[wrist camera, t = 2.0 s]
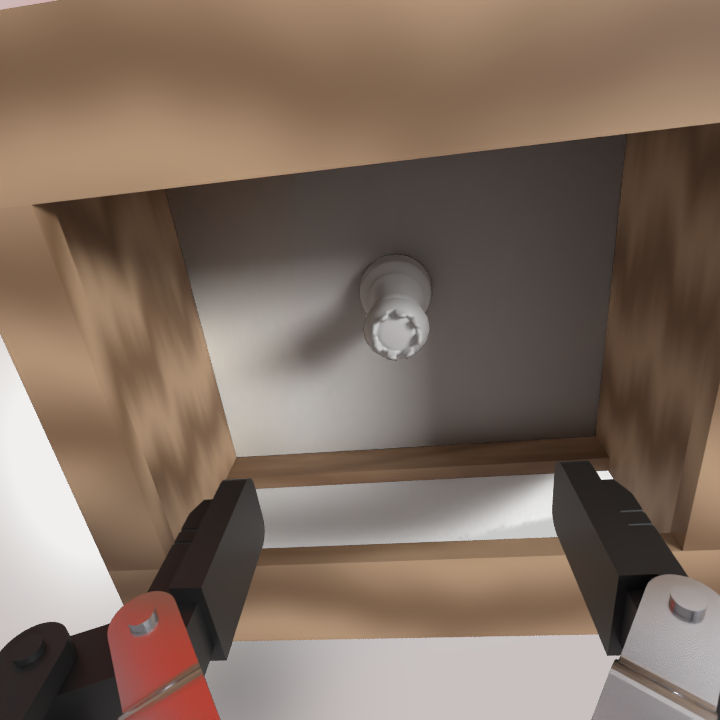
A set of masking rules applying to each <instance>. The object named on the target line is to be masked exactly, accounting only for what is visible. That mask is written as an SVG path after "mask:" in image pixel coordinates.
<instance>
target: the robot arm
mask: <svg viewBox="0 0 720 720" xmlns="http://www.w3.org/2000/svg"><path fill="white" fill-rule="evenodd" d="M552 514H553V522H554V527H555V530H556V533H557V536H558V538H559V541H560V543H561V546H562V548H563V550H564V553H565V555H566V558H567V560H568V562H569V565H570V567H571V570H572V572H573V574H574V577H575V579H576V582H577V584H578V586H579V589H580V591H581V594H582V596H583V598H584V601H585V603H586V606H587V608H588V610H589V613H590V615H591V618H592V620H593V622H594V625H595V627H596V630H597V632H598V634H599V637H600V639H601V641H602V644H603V646H604V649H605V651H606V654H607V656H608V655H609V656H610V655H621V656H620V658H619V660H617V659H616V660H615V661H614V663H613V665H612V667H611V669H610V672H609V674H608V677H607V680H606V682H605V685H604V688H603V690H602V693H601V695H600V698H599V701H598V703H597V706H596V709H595V711H594V714H593V716H592V719H591V720H720V595H718V594H717V593H716V592H715V591H714V590H712V589H711V588H710V587H708V586H706V585H705V584H703V583H701V582H699V581H697V580H695V579H692V578H689V577H688V575H687V574H686V572H685V571H684V569H683V568H682V566H681V565H680V563H679V562H678V560H677V559H676V557H675V556H674V555H673V553H672V552H671V550H670V549H669V547H668V546H667V544H666V543H665V541H664V540H663V538H662V537H661V535H660V534H659V532H658V531H657V529H656V528H655V526H652V522H651V521H650V519H649V518H648V516H647V515H646V513H645V512H643V509H642V507H641V506H640V504H639V503H638V501H637V500H636V498H635V497H634V495H633V494H632V493H631V492H630V491H629V490H627V489H626V488H625V487H623V486H622V485H621V484H619V483H618V482H616V481H615V480H614V479H611V480H601V479H600V477H599V476H598V474H597V472H596V471H595V469H594V467H593V466H592V464H591V463H590V462H589V461H588V460H580V461H563V462H557V463H556V465H555V473H554V489H553V505H552ZM263 542H264V521H263V517H262V513H261V509H260V505H259V501H258V497H257V493H256V489H255V485H254V482H253V480H252V479H251V478H243V479H225V480H223V481H222V482H221V483H220V485H219V487H218V489H217V491H216V493H215V495H214V497H213V499H207V500H203V501H202V502H201V503H200V504H199V505H198V506H197V507H196V508H195V509H194V510H193V511H192V512H190V513H189V515H188V517H187V519H186V521H185V523H184V525H183V526H182V528H181V532H179V534H178V536H177V538H176V539H175V541H174V545H172V547H171V549H170V551H169V552H168V554H167V556H166V558H165V560H164V562H163V564H162V566H161V567H160V569H159V571H158V573H157V575H156V577H155V579H154V580H153V582H152V584H151V586H150V588H149V590H148V592H147V593H144V594H142V595H139V596H137V597H135V598H134V599H132V600H130V601H129V602H128V603H126V604H125V605H124V606H123V607H122V608H121V609H120V610H119V611H118V612H117V613H116V614H115V616H114V617H113V619H112V621H111V622H110V624H107V625H104V626H101V627H98V628H95V629H91V630H88V631H85V632H82V633H79V634H76V635H73V636H70V635H69V633H68V631H67V629H66V627H65V626H64V625H62V624H60V623H57V622H47V623H42V624H39V625H36V626H34V627H31V628H30V629H27V630H25V631H24V632H22V633H21V634H19V635H18V636H16V637H15V638H14V639H12V640H11V641H10V642H9V643H8V644H7V645H6V646H5V647H4V648H3V649H2V650H1V652H0V720H221V719H220V716H219V714H218V711H217V709H216V706H215V703H214V701H213V698H212V695H211V693H210V690H209V688H208V685H207V682H206V680H205V677H204V676H205V673H206V670H207V667H208V664H209V662H210V661H214V660H215V661H217V660H227V657H228V654H229V651H230V647H231V645H232V642H233V638H234V635H235V632H236V629H237V626H238V622H239V619H240V616H241V613H242V610H243V607H244V603H245V600H246V597H247V594H248V591H249V588H250V584H251V581H252V578H253V575H254V572H255V569H256V565H257V562H258V559H259V556H260V553H261V550H262V546H263Z"/></svg>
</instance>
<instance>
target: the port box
mask: <svg viewBox="0 0 720 720" xmlns="http://www.w3.org/2000/svg"><path fill="white" fill-rule="evenodd" d="M620 134H627V139H626V149H625V158H624V168H623V177H622V187H621V196H620V206H619V215H618V225H617V234H616V244H615V253H614V263H613V273H612V282H611V292H610V301H609V311H608V320H607V330H606V339H605V349H604V358H603V368H602V377H601V387H600V396H599V406H598V415H597V425H596V434H595V436H594V437H577V438H560V439H543V440H526V441H509V442H492V443H475V444H458V445H441V446H424V447H407V448H390V449H373V450H356V451H339V452H322V453H305V454H288V455H271V456H254V457H237V458H236V454H235V450H234V447H233V443H232V439H231V435H230V432H229V428H228V424H227V420H226V417H225V413H224V409H223V405H222V402H221V398H220V394H219V390H218V387H217V383H216V379H215V375H214V372H213V368H212V364H211V360H210V357H209V353H208V349H207V345H206V342H205V338H204V334H203V330H202V327H201V323H200V319H199V316H198V312H197V308H196V304H195V301H194V297H193V293H192V289H191V286H190V282H189V278H188V274H187V271H186V267H185V263H184V259H183V256H182V252H181V248H180V244H179V241H178V237H177V233H176V229H175V226H174V222H173V218H172V214H171V211H170V207H169V203H168V199H167V196H166V192H165V189H168V188H176V187H185V186H193V185H201V184H210V183H218V182H226V181H235V180H243V179H252V178H260V177H268V176H277V175H285V174H293V173H302V172H310V171H319V170H327V169H335V168H344V167H352V166H360V165H369V164H377V163H386V162H394V161H402V160H411V159H419V158H427V157H436V156H444V155H453V154H461V153H469V152H478V151H486V150H494V149H503V148H511V147H520V146H528V145H536V144H545V143H553V142H561V141H570V140H578V139H587V138H595V137H603V136H612V135H620ZM0 334H1V336H2V338H3V341H4V343H5V345H6V347H7V350H8V351H9V354H10V356H11V358H12V361H13V363H14V365H15V367H16V369H17V371H18V374H19V376H20V378H21V380H22V383H23V385H24V387H25V389H26V391H27V394H28V396H29V398H30V400H31V402H32V404H33V407H34V409H35V411H36V413H37V416H38V418H39V420H40V422H41V424H42V426H43V429H44V431H45V433H46V435H47V438H48V440H49V442H50V444H51V446H52V449H53V450H54V453H55V455H56V457H57V460H58V462H59V464H60V466H61V468H62V471H63V472H64V475H65V477H66V479H67V482H68V484H69V486H70V488H71V490H72V493H73V495H74V497H75V499H76V501H77V504H78V506H79V508H80V510H81V512H82V515H83V516H84V519H85V521H86V523H87V526H88V528H89V530H90V532H91V534H92V536H93V539H94V541H95V543H96V545H97V547H98V549H99V552H100V554H101V556H102V559H103V560H104V563H105V565H106V567H107V570H108V572H109V574H110V576H111V578H112V580H113V583H114V585H115V587H116V589H117V592H118V593H119V596H120V598H121V600H122V603H123V605H125V604H126V603H128V602H129V601H130V600H132V599H134V598H135V597H137V596H139V595H142V594H144V593H147V592H148V590H149V588H150V586H151V584H152V582H153V580H154V579H155V577H156V575H157V573H158V571H159V569H160V567H161V566H162V564H163V562H164V560H165V558H166V556H167V554H168V552H169V551H170V549H171V547H172V545H174V541H175V539H176V538H177V536H178V534H179V532H181V528H182V526H183V525H184V523H185V521H186V519H187V517H188V515H189V513H190V512H192V511H193V510H194V509H195V508H196V507H197V506H198V505H199V504H200V503H201V502H202V501H203V500H207V499H213V497H214V495H215V493H216V491H217V489H218V487H219V485H220V483H221V482H222V481H223V480H225V479H243V478H251V479H252V480H253V482H254V485H255V489H260V488H279V487H299V486H318V485H337V484H356V483H376V482H395V481H414V480H434V479H453V478H472V477H491V476H511V475H530V474H549V473H555V465H556V463H557V462H563V461H580V460H588V461H589V462H590V463H591V464H592V466H593V467H594V469H595V471H607V470H608V471H609V472H610V474H611V475H612V477H613V479H614V480H615V481H616V482H618V483H619V484H621V485H622V486H623V487H625V488H626V489H627V490H629V491H630V492H631V493H632V494H633V495H634V497H635V498H636V500H637V501H638V503H639V504H640V506H641V507H642V509H643V512H645V513H646V515H647V516H648V518H649V519H650V521H651V522H652V526H655V528H656V529H657V531H658V532H659V534H660V535H661V537H662V538H663V540H664V541H665V543H666V544H667V546H668V547H669V549H670V550H671V552H672V553H673V555H674V556H675V557H676V559H677V560H678V562H679V563H680V565H681V566H682V568H683V569H684V571H685V572H686V574H687V575H688V577H689V578H692V579H695V580H697V581H699V582H701V583H703V584H705V585H706V586H708V587H710V588H711V589H712V590H714V591H715V592H716V593H717V594H718V595H720V0H58V1H52V2H46V3H40V4H34V5H28V6H22V7H16V8H9V9H3V10H0ZM587 634H598V632H597V630H596V627H595V625H594V622H593V620H592V618H591V615H590V613H589V610H588V608H587V606H586V603H585V601H584V598H583V596H582V594H581V591H580V589H579V586H578V584H577V582H576V579H575V577H574V574H573V572H572V570H571V567H570V565H569V562H568V560H567V558H566V555H565V553H564V550H563V548H562V546H561V543H560V541H559V538H558V537H550V538H525V539H499V540H473V541H447V542H421V543H396V544H370V545H344V546H318V547H293V548H267V549H262V550H261V553H260V556H259V559H258V562H257V565H256V569H255V572H254V575H253V578H252V581H251V584H250V588H249V591H248V594H247V597H246V600H245V603H244V607H243V610H242V613H241V616H240V619H239V622H238V626H237V629H236V632H235V635H234V638H233V641H266V640H267V641H268V640H320V639H321V640H322V639H374V638H423V637H424V638H427V637H481V636H534V635H587Z"/></svg>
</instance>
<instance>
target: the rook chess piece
mask: <svg viewBox="0 0 720 720" xmlns="http://www.w3.org/2000/svg"><path fill="white" fill-rule="evenodd" d="M359 292H360V299H361V303H362V307H363V309H364V311H365V312H366V313H367V316H366V317H365V322H364V327H363V331H364V335H365V339H366V342H367V343H368V345H369V346H370V347H371V349H372V350H373V351H374V352H376V353H378V354H379V355H381V356H383V357H386V359H390V360H395V361H396V359H401V358H406V359H407V358H409V357H410V356H412V355H414V354H415V353H416V352H418V351H420V349H421V348H422V347H423V345H424V344H425V343H426V341H427V338H428V334H429V330H430V328H429V322H428V317H427V315H426V314H425V312H426V311H427V309H428V308H429V304H430V300H431V296H432V287H431V281H430V276H429V275H428V273H427V272H426V270H425V269H424V267H423V266H422V264H420V263H419V262H417V261H416V260H414V259H413V258H411V257H408V256H403V255H397V254H394V255H389V256H385V257H381V258H379V259H378V260H376V261H375V262H373V263H372V264H371V265H369V267H368V268H367V270H366V271H365V273H364V274H363V276H362V278H361V284H360V289H359Z"/></svg>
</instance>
